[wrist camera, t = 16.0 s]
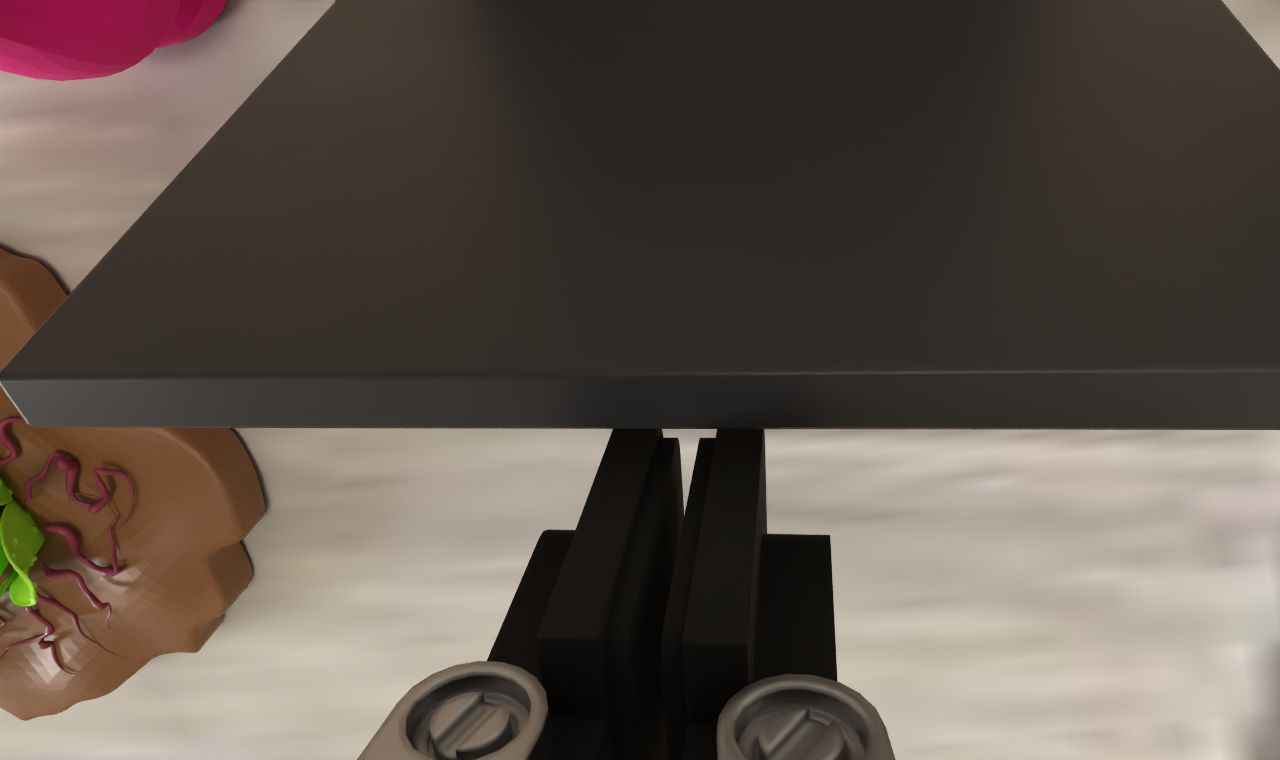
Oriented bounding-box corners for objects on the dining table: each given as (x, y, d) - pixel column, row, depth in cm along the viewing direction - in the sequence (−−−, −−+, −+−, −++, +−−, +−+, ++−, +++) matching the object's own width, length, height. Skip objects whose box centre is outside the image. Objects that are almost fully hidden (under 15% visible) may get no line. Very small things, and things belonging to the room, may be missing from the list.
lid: (-11, 377, 11) (27, 430, 11) (1534, 365, 8) (1491, 434, 9) (420, -95, 23) (429, -59, 23) (1095, -154, 20) (1088, -112, 21)
